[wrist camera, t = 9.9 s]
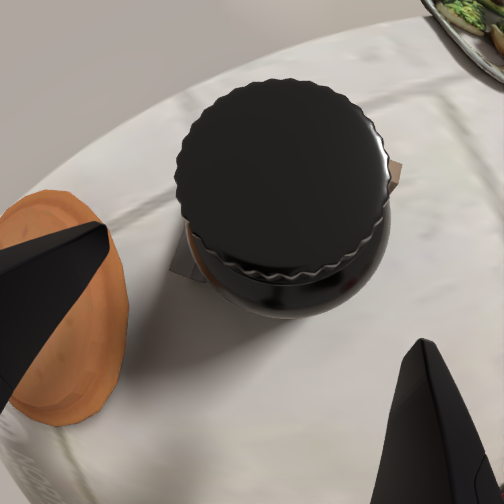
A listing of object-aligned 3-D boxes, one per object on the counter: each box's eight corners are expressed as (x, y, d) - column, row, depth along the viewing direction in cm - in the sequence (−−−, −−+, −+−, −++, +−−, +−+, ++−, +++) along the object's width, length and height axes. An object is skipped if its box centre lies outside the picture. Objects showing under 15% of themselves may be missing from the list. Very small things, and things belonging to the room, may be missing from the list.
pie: (106, 164, 21) (67, 134, 16) (198, 368, 18) (166, 387, 13) (-11, 266, 22) (-50, 258, 17) (47, 432, 18) (6, 448, 14)
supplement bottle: (222, 209, 19) (128, 86, 7) (333, 183, 18) (370, 32, 7) (245, 323, 18) (154, 354, 6) (363, 296, 17) (474, 279, 5)
